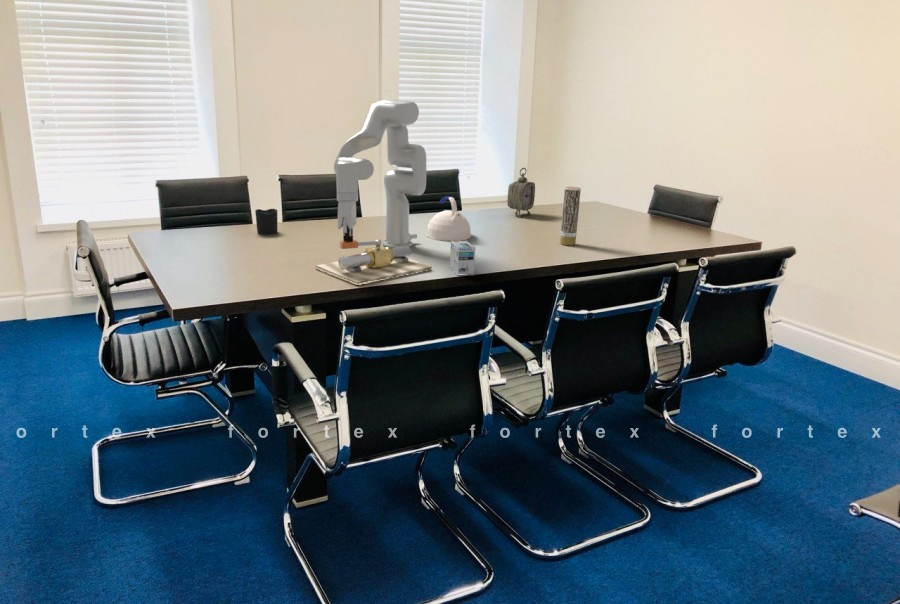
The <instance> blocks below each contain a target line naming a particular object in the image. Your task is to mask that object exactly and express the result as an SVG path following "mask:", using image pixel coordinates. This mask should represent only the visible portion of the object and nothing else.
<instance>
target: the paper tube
mask: <svg viewBox="0 0 900 604" xmlns="http://www.w3.org/2000/svg"><path fill="white" fill-rule="evenodd" d="M581 191H582V189H581V187H578V186H565V187H564V192H563V193H564V195H563V203H562V204H563V206H562V215H561V217H562V218H561V226H560V228H561V229H560V240H559V244H561V245H562V246H567V245H569V247H570V246H575V245H576V244H577V243H576V242H577V230H578V221H579V212H580V211H579V209H580V201H581Z"/></svg>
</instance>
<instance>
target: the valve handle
mask: <svg viewBox="0 0 900 604" xmlns="http://www.w3.org/2000/svg"><path fill="white" fill-rule="evenodd" d="M363 246H364V247H365V246H374V247H376V246H382V240H381V239H374V240H370V241H367V240H366V241H357V239H355V240H354V239H353V241H343V240H342V241H341V240H340V241H339V249H341V250H347V249H358V248H359V247H363Z"/></svg>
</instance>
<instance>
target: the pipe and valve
mask: <svg viewBox="0 0 900 604" xmlns="http://www.w3.org/2000/svg"><path fill="white" fill-rule="evenodd" d="M411 255H412V250H411V247H409V246H403V247H397V248H390V247H386V246H383V245H381V246H374V247H369V248H368V247H367V248H365V250H364V251H363V253H357V254H354V255H353V254H352V255H347V256H341V257H339V259H338V264H339V267H340V269H342V270H345V269H346V270H347V271H350V272H353V273H358V272H361V267H360V266H366V267H370V266H371V267H374V268H378V267H383V266H388V265H391V262H392V261H393V260H394V261H396V262H399V263H402V264H403V263H408V259H409V257H411Z"/></svg>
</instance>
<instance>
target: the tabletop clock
mask: <svg viewBox="0 0 900 604" xmlns="http://www.w3.org/2000/svg"><path fill="white" fill-rule="evenodd" d="M522 170H525V172H523V173H521V172H522ZM526 174H527V168H526V167H522V168H521V169H520V171H519V177H518V178H517V180H516V181H514V182H513V181H512V182H511V183H509V185H508V189H507V202H506V203H507V207H508V208H509V209H512V210H516V211H514V215H515V216H517V217H518V218H521V217H522V214H521V211H526V212H527V213H526V214H527V215H530V214H531V211H529V210H531V209H532V208H533V207H534V205H535V204H534V203H535V197H536V183H535V182H533V181H532V182H531V181H528V178H527V177H526Z"/></svg>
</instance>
